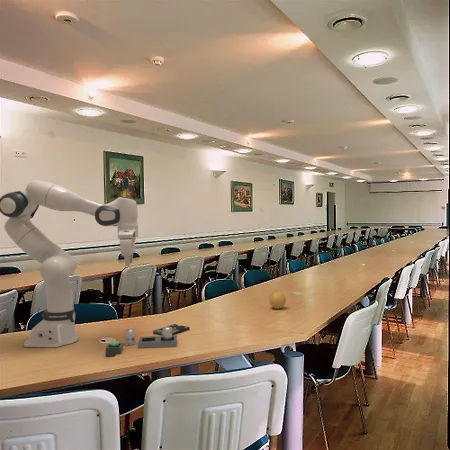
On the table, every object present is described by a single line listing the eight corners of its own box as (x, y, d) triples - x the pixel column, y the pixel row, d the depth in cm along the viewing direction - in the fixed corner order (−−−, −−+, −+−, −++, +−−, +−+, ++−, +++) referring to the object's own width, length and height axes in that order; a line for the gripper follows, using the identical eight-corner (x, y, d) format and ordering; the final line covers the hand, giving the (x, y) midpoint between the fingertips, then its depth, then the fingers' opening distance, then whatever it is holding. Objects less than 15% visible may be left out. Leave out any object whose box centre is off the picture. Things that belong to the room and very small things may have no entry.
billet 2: (162, 345, 184) (162, 329, 184) (163, 342, 188) (162, 326, 188) (172, 345, 184) (171, 328, 184) (172, 342, 188) (172, 326, 188)
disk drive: (174, 329, 214) (152, 336, 202) (174, 323, 214) (152, 330, 202) (190, 332, 208) (168, 340, 196) (190, 326, 208) (168, 333, 196)
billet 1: (125, 347, 184) (124, 331, 184) (126, 344, 188) (125, 328, 188) (134, 347, 185) (134, 330, 185) (135, 344, 189) (135, 328, 189)
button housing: (105, 356, 173) (105, 348, 173) (108, 351, 179) (108, 343, 179) (121, 356, 174) (120, 347, 173) (123, 351, 179) (123, 342, 179)
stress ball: (287, 310, 253) (283, 296, 260) (288, 299, 246) (283, 286, 253) (271, 313, 252) (266, 300, 259) (271, 303, 245) (266, 289, 253)
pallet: (138, 350, 180) (137, 343, 180) (140, 343, 189) (140, 336, 189) (176, 348, 182) (176, 341, 182) (177, 342, 191) (177, 335, 191)
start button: (109, 346, 174) (109, 343, 174) (110, 344, 178) (110, 341, 178) (118, 346, 174) (118, 343, 174) (119, 343, 178) (119, 340, 178)
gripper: (124, 232, 201) (124, 262, 201) (117, 234, 181) (118, 267, 181) (137, 232, 202) (138, 261, 202) (132, 234, 181) (133, 267, 182)
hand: (129, 264), depth 191 cm, fingers open, 8 cm apart
